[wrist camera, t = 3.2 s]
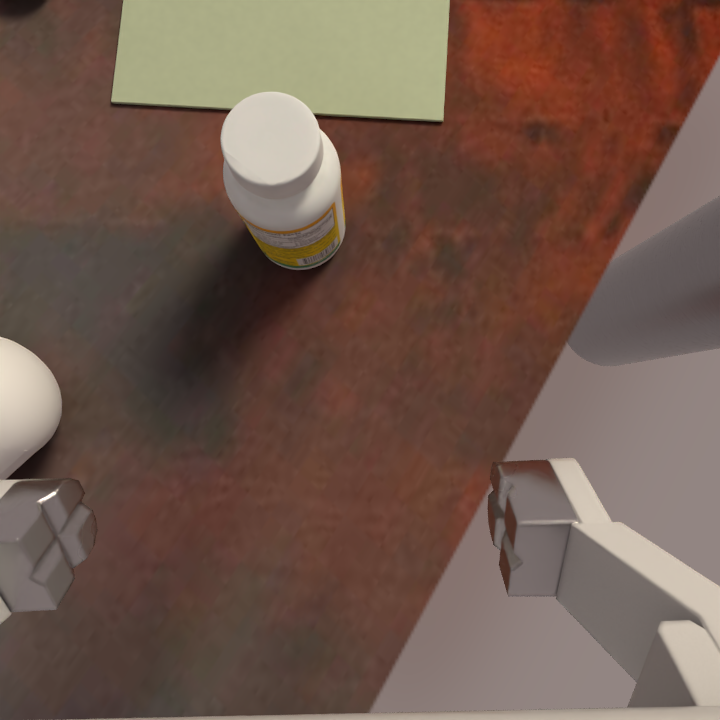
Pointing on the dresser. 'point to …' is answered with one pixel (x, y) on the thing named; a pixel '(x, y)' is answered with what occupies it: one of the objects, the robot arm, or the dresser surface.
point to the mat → (286, 55)
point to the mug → (25, 405)
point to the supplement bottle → (284, 179)
